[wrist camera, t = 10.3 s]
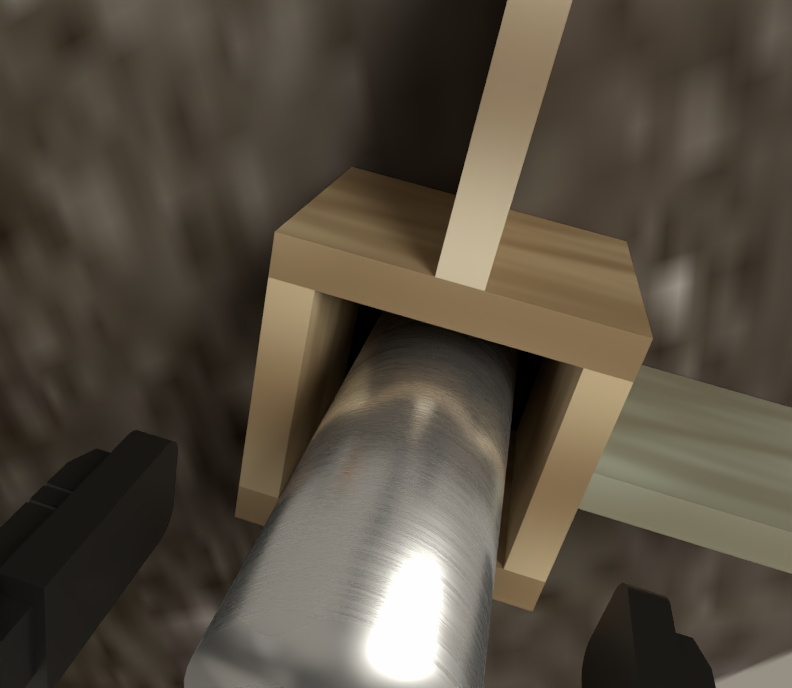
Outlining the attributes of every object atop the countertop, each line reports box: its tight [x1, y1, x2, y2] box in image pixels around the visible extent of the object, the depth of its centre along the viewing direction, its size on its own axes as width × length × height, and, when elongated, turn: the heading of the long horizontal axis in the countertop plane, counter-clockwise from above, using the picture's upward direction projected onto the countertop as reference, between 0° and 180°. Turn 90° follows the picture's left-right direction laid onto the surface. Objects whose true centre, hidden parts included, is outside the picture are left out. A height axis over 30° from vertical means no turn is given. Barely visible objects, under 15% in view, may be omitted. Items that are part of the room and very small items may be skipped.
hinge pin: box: [184, 310, 519, 688], centre depth 15 cm, size 4×4×13 cm
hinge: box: [235, 0, 792, 611], centre depth 16 cm, size 16×16×6 cm
